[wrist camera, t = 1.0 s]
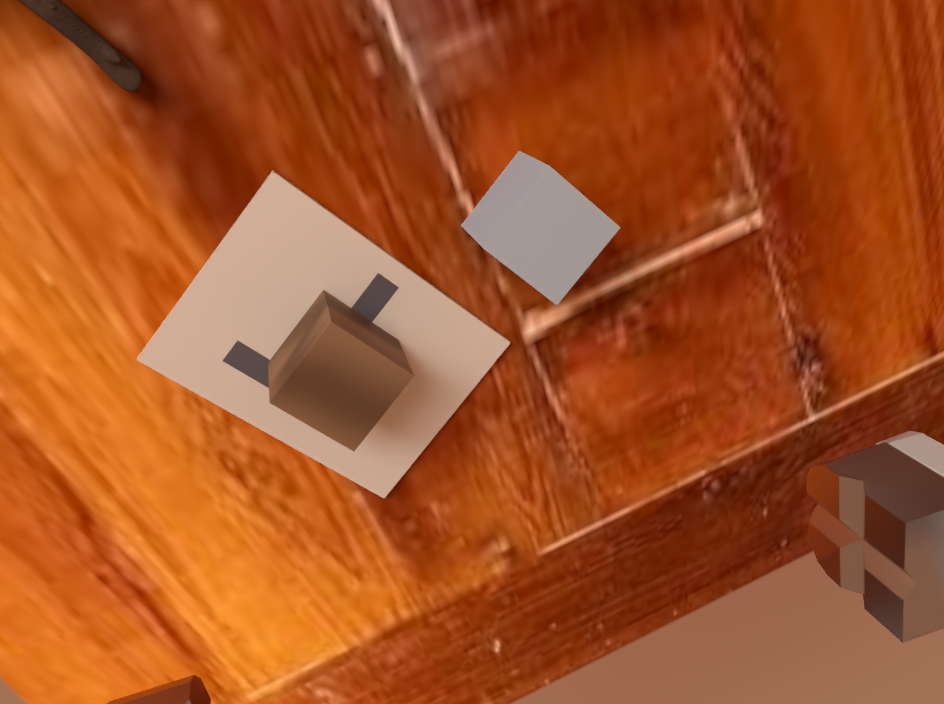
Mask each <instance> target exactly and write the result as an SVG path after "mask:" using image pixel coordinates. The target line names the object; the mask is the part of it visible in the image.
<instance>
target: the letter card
mask: <svg viewBox="0 0 944 704" xmlns="http://www.w3.org/2000/svg"><path fill="white" fill-rule="evenodd" d="M323 290H325V291H326V292H328V293H329V294H331V295H332V296H334V297H335V298H337V299H338V300H340V301H341V302H343V303H344V304H346V305H347V306H349V307H350V308H352V309H353V310H355V311H356V312H358V313H359V314H361V315H362V316H364V317H365V318H367V319H368V320H370V321H371V322H373V323H374V324H376V325H377V326H379V327H380V328H381V329H383V330H384V331H386V332H387V333H389V334H390V335H392V336H393V337H395V338H396V339H398V340H399V342H400V345H401V347H402V349H403V351H404V354H405V356H406V358H407V360H408V363H409V365H410V367H411V369H412V371H413V374H414V377H413V378H412V380H411V381H410V382H409V383H408V385H407V386H406V387H405V388H404V390H403V391H402V392H401V393H400V395H399V396H398V397H397V398H396V400H395V401H394V402H393V403H392V405H391V406H390V407H389V408H388V410H387V411H386V412H385V413H384V415H383V416H382V417H381V419H380V420H379V421H378V422H377V424H376V425H375V426H374V427H373V429H372V430H371V431H370V432H369V434H368V435H367V436H366V437H365V439H364V440H363V441H362V442H361V444H360V445H359V446H358V447H357V449H356V450H355V451H354V452H353V451H352V450H350V449H348V448H347V447H345V446H343V445H341V444H340V443H338V442H336V441H334V440H333V439H331V438H329V437H328V436H326V435H324V434H322V433H321V432H319V431H317V430H315V429H314V428H312V427H310V426H309V425H307V424H305V423H303V422H302V421H300V420H298V419H296V418H295V417H293V416H291V415H290V414H288V413H286V412H284V411H283V410H281V409H279V408H277V407H276V406H274V405H272V404H270V402H269V376H268V362H269V361H270V360H271V358H272V357H273V356H274V354H275V353H276V352H277V350H278V349H279V348H280V346H281V345H282V344H283V342H284V341H285V340H286V338H287V337H288V336H289V334H290V333H291V332H292V330H293V329H294V328H295V327H296V325H297V324H298V323H299V321H300V320H301V319H302V317H303V316H304V315H305V313H306V312H307V311H308V309H309V308H310V307H311V305H312V304H313V303H314V301H315V300H316V299H317V297H318V296H319V295H320V293H321V292H322V291H323ZM509 344H510V341H509V340H508V339H507V338H505V337H504V336H502V335H501V334H500V333H498V332H497V331H495V330H494V329H493V328H491V327H490V326H488V325H487V324H486V323H484V322H483V321H482V320H480V319H479V318H477V317H476V316H475V315H473V314H472V313H470V312H469V311H468V310H466V309H465V308H464V307H462V306H461V305H459V304H458V303H457V302H455V301H454V300H452V299H451V298H450V297H448V296H447V295H446V294H444V293H443V292H441V291H440V290H439V289H437V288H436V287H434V286H433V285H432V284H430V283H429V282H427V281H426V280H425V279H423V278H422V277H421V276H419V275H418V274H416V273H415V272H414V271H412V270H411V269H409V268H408V267H407V266H405V265H404V264H403V263H401V262H400V261H398V260H397V259H396V258H394V257H393V256H391V255H390V254H389V253H387V252H386V251H385V250H383V249H382V248H380V247H379V246H378V245H376V244H375V243H373V242H372V241H371V240H369V239H368V238H366V237H365V236H364V235H362V234H361V233H360V232H358V231H357V230H355V229H354V228H353V227H351V226H350V225H348V224H347V223H346V222H344V221H343V220H342V219H340V218H339V217H337V216H336V215H335V214H333V213H332V212H330V211H329V210H328V209H326V208H325V207H324V206H322V205H321V204H319V203H318V202H317V201H315V200H314V199H312V198H311V197H310V196H308V195H307V194H305V193H304V192H303V191H301V190H300V189H299V188H297V187H296V186H294V185H293V184H292V183H290V182H289V181H287V180H286V179H285V178H283V177H282V176H281V175H279V174H278V173H276V172H275V171H274V170H273V171H272V172H271V173H270V175H269V176H268V177H267V179H266V180H265V182H264V183H263V184H262V186H261V187H260V189H259V190H258V191H257V193H256V194H255V195H254V197H253V198H252V200H251V201H250V202H249V204H248V205H247V207H246V208H245V209H244V211H243V212H242V213H241V215H240V216H239V218H238V219H237V220H236V222H235V223H234V224H233V226H232V227H231V229H230V230H229V231H228V233H227V234H226V236H225V237H224V238H223V240H222V241H221V242H220V244H219V245H218V247H217V248H216V249H215V251H214V252H213V254H212V255H211V256H210V258H209V259H208V260H207V262H206V263H205V265H204V266H203V267H202V269H201V270H200V271H199V273H198V274H197V276H196V277H195V278H194V280H193V281H192V283H191V284H190V285H189V287H188V288H187V289H186V291H185V292H184V294H183V295H182V296H181V298H180V299H179V301H178V302H177V303H176V305H175V306H174V307H173V309H172V310H171V312H170V313H169V314H168V316H167V317H166V318H165V320H164V321H163V323H162V324H161V325H160V327H159V328H158V330H157V331H156V332H155V334H154V335H153V336H152V338H151V339H150V341H149V342H148V343H147V345H146V346H145V348H144V349H143V350H142V352H141V353H140V354H139V356H138V358H137V361H139V362H141V363H143V364H144V365H146V366H148V367H150V368H151V369H153V370H155V371H157V372H159V373H160V374H162V375H164V376H166V377H168V378H169V379H171V380H173V381H175V382H177V383H178V384H180V385H182V386H184V387H185V388H187V389H189V390H191V391H193V392H194V393H196V394H198V395H200V396H202V397H203V398H205V399H207V400H209V401H211V402H212V403H214V404H216V405H218V406H219V407H221V408H223V409H225V410H227V411H228V412H230V413H232V414H234V415H236V416H237V417H239V418H241V419H243V420H244V421H246V422H248V423H250V424H252V425H253V426H255V427H257V428H259V429H261V430H262V431H264V432H266V433H268V434H270V435H271V436H273V437H275V438H277V439H278V440H280V441H282V442H284V443H286V444H287V445H289V446H291V447H293V448H295V449H296V450H298V451H300V452H302V453H304V454H305V455H307V456H309V457H311V458H312V459H314V460H316V461H318V462H320V463H321V464H323V465H325V466H327V467H329V468H330V469H332V470H334V471H336V472H338V473H339V474H341V475H343V476H345V477H346V478H348V479H350V480H352V481H354V482H355V483H357V484H359V485H361V486H363V487H364V488H366V489H368V490H370V491H372V492H373V493H375V494H377V495H379V496H380V497H382V498H385V497H386V496H387V495H388V493H389V492H390V491H391V490H392V488H393V487H394V486H395V485H396V484H397V482H398V481H399V480H400V479H401V477H402V476H403V475H404V474H405V472H406V471H407V470H408V469H409V468H410V466H411V465H412V464H413V463H414V461H415V460H416V459H417V458H418V456H419V455H420V454H421V453H422V452H423V450H424V449H425V448H426V447H427V445H428V444H429V443H430V442H431V440H432V439H433V438H434V437H435V435H436V434H437V433H438V432H439V431H440V429H441V428H442V427H443V426H444V424H445V423H446V422H447V421H448V419H449V418H450V417H451V416H452V415H453V413H454V412H455V411H456V410H457V408H458V407H459V406H460V405H461V403H462V402H463V401H464V400H465V399H466V397H467V396H468V395H469V394H470V392H471V391H472V390H473V389H474V387H475V386H476V385H477V384H478V383H479V381H480V380H481V379H482V378H483V376H484V375H485V374H486V373H487V371H488V370H489V369H490V368H491V367H492V365H493V364H494V363H495V362H496V360H497V359H498V358H499V357H500V355H501V354H502V353H503V352H504V350H505V349H506V348H507V347H508V346H509Z"/></svg>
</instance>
